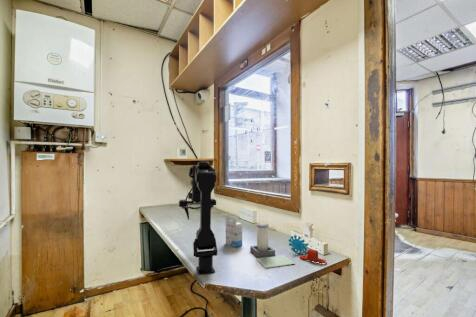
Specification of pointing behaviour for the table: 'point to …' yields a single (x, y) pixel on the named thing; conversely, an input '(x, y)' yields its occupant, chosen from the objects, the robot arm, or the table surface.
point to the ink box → (233, 232)
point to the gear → (298, 244)
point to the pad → (274, 261)
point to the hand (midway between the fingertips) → (197, 219)
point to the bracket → (312, 256)
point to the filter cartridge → (262, 237)
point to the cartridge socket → (262, 252)
